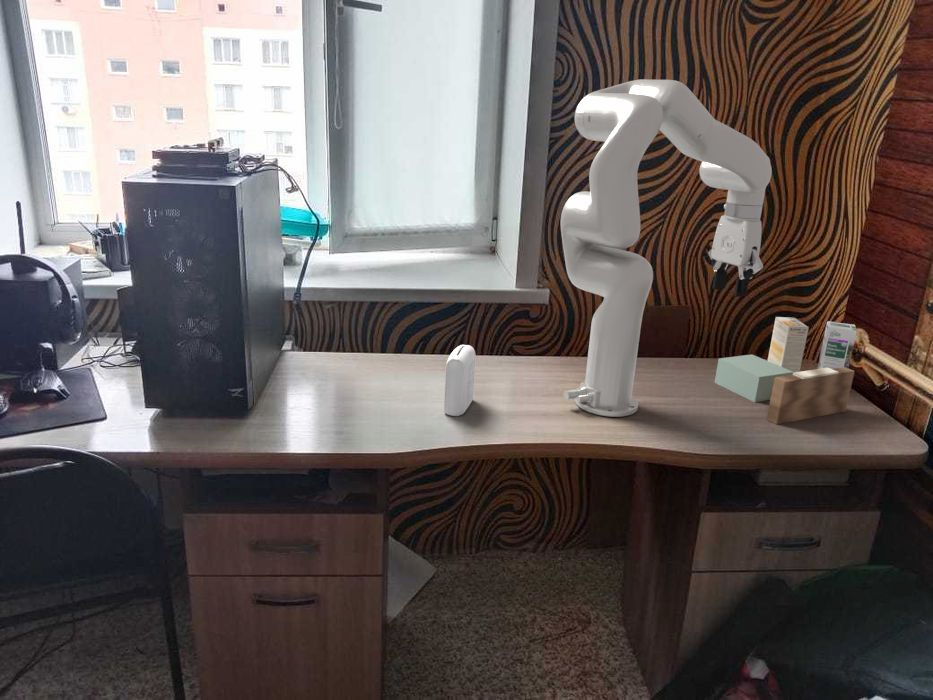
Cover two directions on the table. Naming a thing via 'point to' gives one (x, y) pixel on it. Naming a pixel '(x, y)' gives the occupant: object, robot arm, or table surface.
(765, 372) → the sage block
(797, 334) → the supplement box
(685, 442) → the table surface
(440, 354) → the table surface
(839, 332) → the syrup box
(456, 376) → the photo printer
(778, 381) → the board
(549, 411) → the table surface
